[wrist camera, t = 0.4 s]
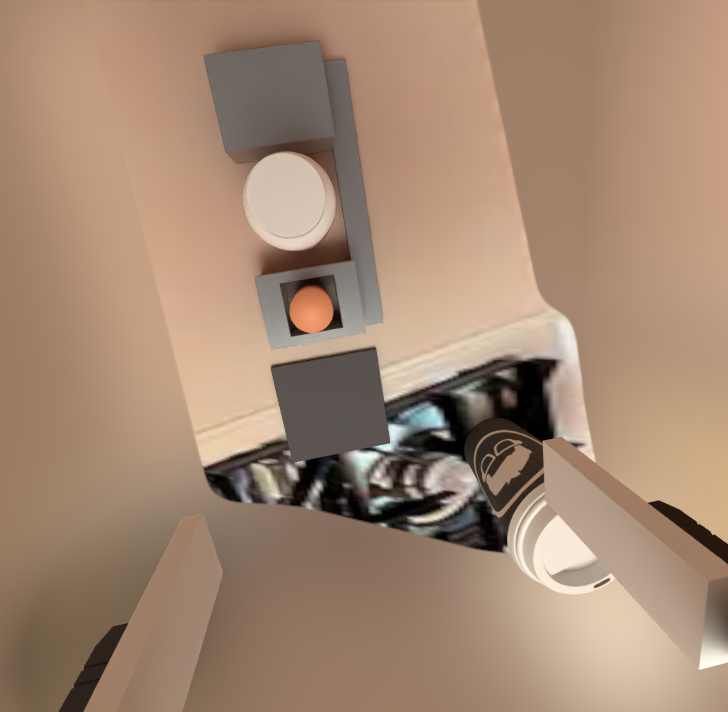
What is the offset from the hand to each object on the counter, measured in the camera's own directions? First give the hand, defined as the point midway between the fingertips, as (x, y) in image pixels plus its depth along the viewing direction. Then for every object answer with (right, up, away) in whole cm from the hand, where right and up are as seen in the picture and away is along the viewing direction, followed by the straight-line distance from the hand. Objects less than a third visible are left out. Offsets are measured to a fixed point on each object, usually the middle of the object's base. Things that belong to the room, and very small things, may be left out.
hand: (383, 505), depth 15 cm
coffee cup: (+13, -4, +27) cm, 30 cm away
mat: (-4, +1, +23) cm, 24 cm away
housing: (-6, +18, +19) cm, 26 cm away
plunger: (-5, +10, +19) cm, 22 cm away
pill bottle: (-7, +18, +19) cm, 27 cm away
